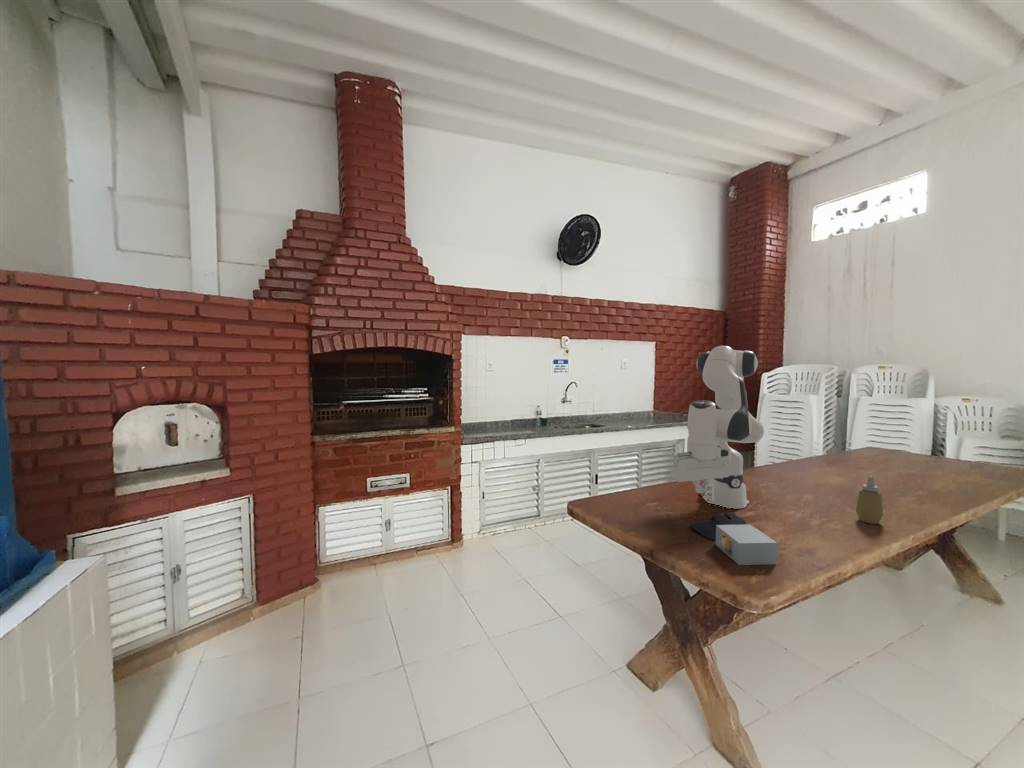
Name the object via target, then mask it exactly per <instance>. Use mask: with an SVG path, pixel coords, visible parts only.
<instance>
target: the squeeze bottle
mask: <svg viewBox="0 0 1024 768" xmlns="http://www.w3.org/2000/svg"><path fill="white" fill-rule="evenodd" d="M855 511H856V513H857V516H858V517H857V518H858V520H859V521H861V522H862V523H866V524H871V525H878V524H879V523H880V522H881V520H882V518H883V516H884V510H883V499H882V493H881V492H880V491H879V486H878V485H875V481H874V477H873V476H871V475H869V476H868V478H867V481H866V483H864V484H862V489H860V490H858V496H857V501H856V507H855Z"/></svg>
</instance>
